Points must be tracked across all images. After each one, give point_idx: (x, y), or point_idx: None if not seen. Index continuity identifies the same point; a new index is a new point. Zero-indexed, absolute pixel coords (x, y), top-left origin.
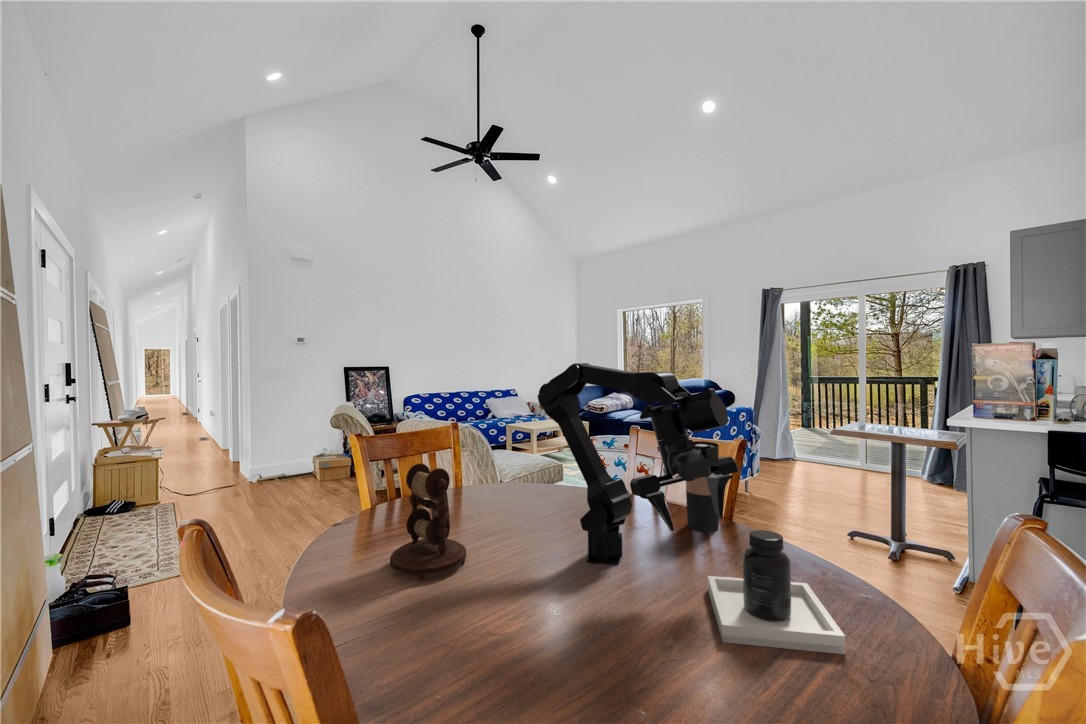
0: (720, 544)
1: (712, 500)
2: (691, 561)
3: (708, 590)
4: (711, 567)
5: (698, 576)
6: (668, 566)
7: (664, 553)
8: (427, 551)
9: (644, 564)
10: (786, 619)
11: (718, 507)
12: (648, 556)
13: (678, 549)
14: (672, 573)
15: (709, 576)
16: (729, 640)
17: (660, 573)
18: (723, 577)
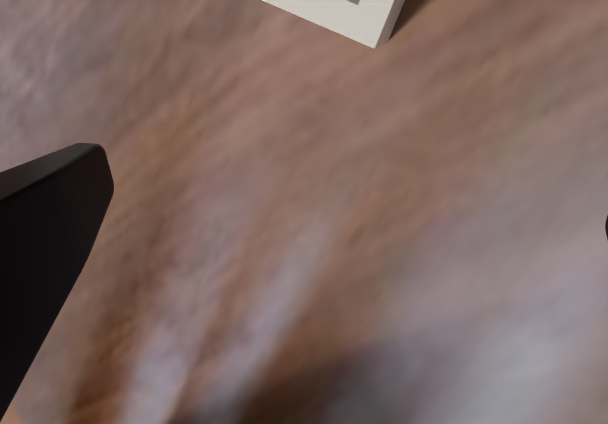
0: (148, 377)
1: (35, 343)
2: (316, 303)
3: (396, 17)
4: (264, 232)
5: (358, 176)
6: (438, 299)
7: (389, 400)
8: None
9: (539, 352)
10: None
11: (37, 191)
12: (473, 405)
13: (315, 405)
14: (459, 236)
15: (369, 39)
16: None
17: (517, 253)
18: (304, 10)
